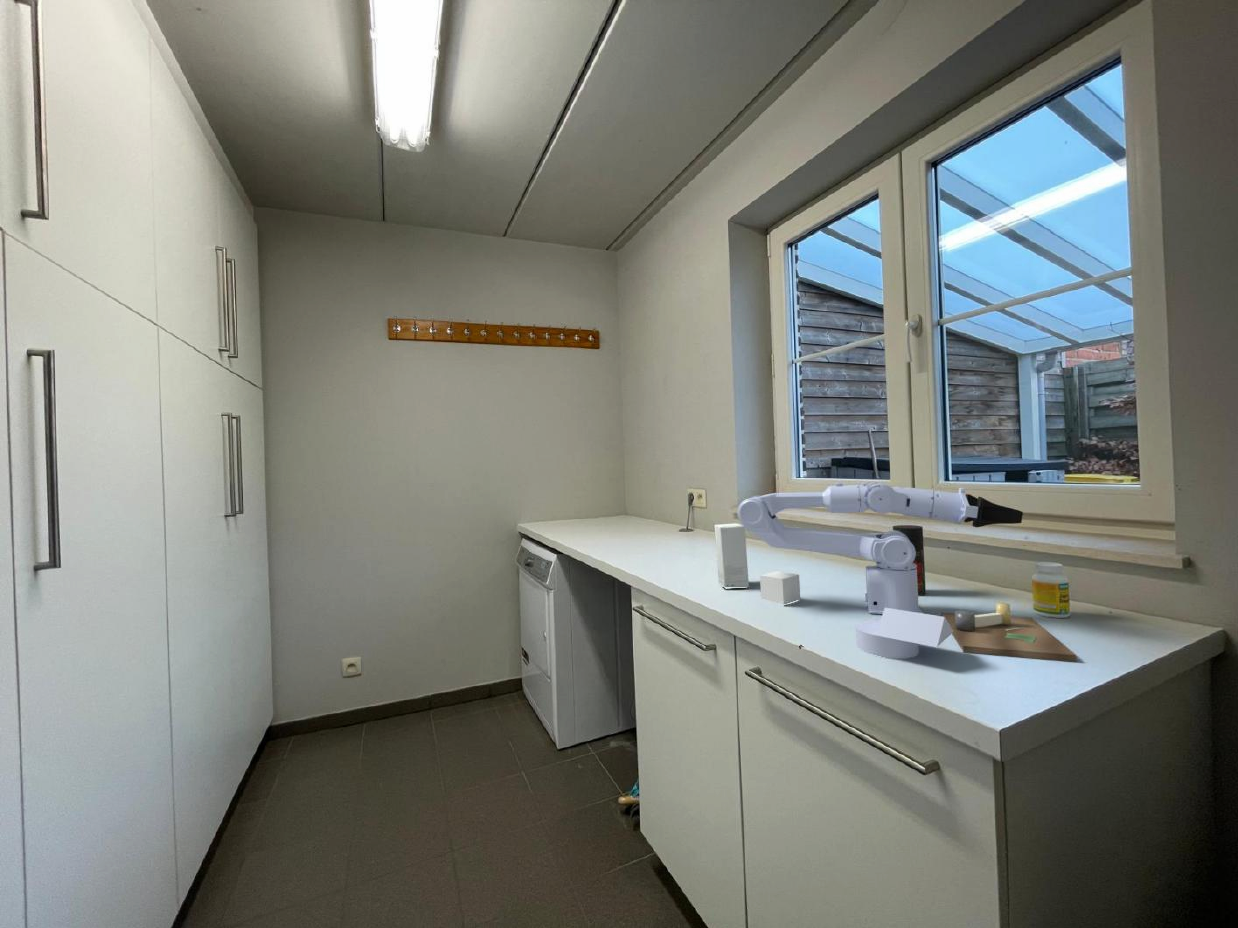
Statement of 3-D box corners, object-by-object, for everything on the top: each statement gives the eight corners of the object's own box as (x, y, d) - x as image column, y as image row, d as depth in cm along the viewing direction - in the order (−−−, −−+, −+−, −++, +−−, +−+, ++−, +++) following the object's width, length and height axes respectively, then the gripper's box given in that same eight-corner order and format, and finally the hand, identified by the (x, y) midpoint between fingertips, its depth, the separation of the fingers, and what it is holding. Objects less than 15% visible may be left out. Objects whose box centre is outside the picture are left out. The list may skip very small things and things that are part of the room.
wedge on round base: (954, 652, 81) (868, 635, 90) (952, 610, 81) (866, 597, 90) (938, 670, 75) (847, 650, 84) (935, 624, 75) (845, 609, 84)
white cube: (761, 601, 115) (759, 574, 115) (777, 596, 119) (776, 570, 119) (783, 606, 110) (782, 578, 110) (800, 601, 114) (799, 574, 114)
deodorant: (926, 590, 118) (923, 525, 118) (925, 596, 113) (922, 528, 113) (896, 588, 121) (893, 524, 121) (894, 594, 116) (891, 527, 116)
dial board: (963, 652, 81) (963, 645, 81) (941, 617, 98) (941, 611, 98) (1076, 661, 75) (1076, 654, 75) (1031, 623, 93) (1031, 617, 93)
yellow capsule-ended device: (965, 631, 87) (964, 611, 87) (951, 626, 89) (950, 607, 89) (1016, 624, 89) (1015, 605, 89) (1000, 620, 91) (1000, 601, 91)
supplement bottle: (1039, 608, 101) (1037, 559, 101) (1074, 614, 96) (1072, 563, 96) (1028, 614, 98) (1026, 563, 98) (1064, 620, 93) (1061, 567, 93)
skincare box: (749, 589, 126) (746, 526, 127) (722, 590, 127) (719, 527, 127) (741, 581, 135) (738, 522, 135) (716, 582, 135) (713, 523, 135)
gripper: (939, 485, 94) (1030, 496, 89) (928, 483, 108) (1007, 492, 102) (934, 523, 95) (1025, 536, 89) (924, 516, 108) (1002, 527, 102)
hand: (1015, 515), depth 96 cm, fingers open, 7 cm apart
